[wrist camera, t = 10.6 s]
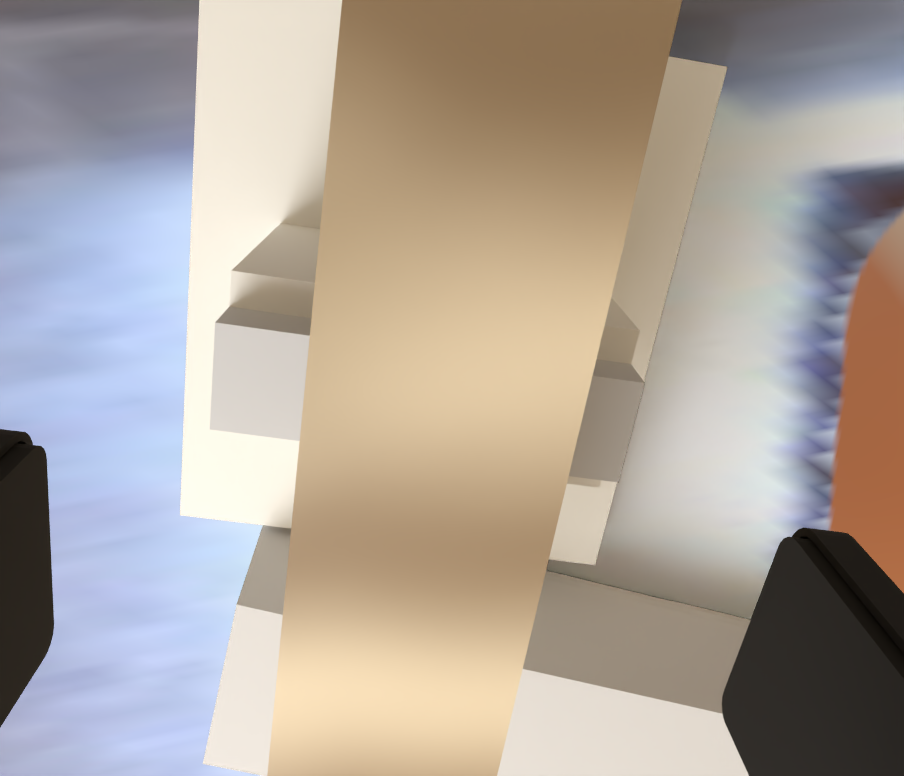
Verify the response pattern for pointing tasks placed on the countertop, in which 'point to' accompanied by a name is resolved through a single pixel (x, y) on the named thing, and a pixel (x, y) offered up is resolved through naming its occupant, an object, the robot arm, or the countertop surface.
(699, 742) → the white flat block
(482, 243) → the beech batten
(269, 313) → the balance stand
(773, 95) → the countertop surface
